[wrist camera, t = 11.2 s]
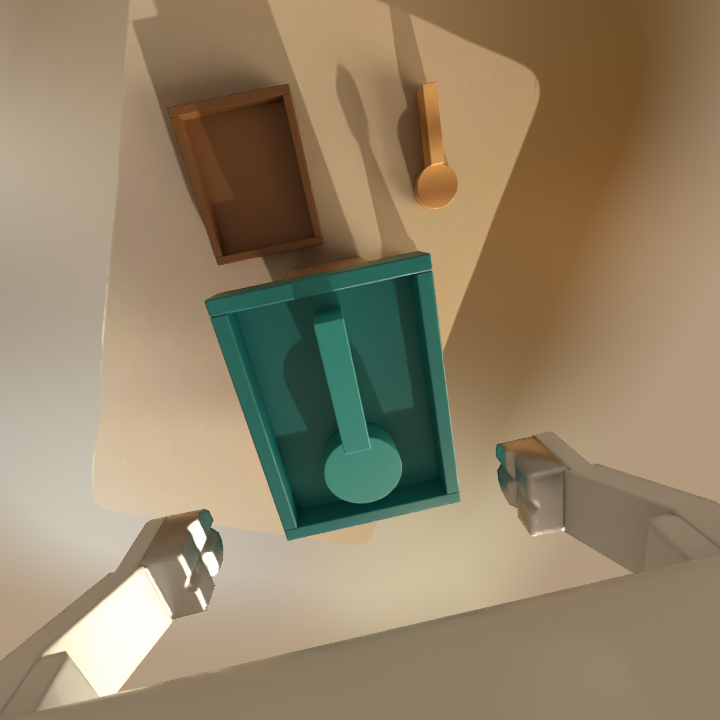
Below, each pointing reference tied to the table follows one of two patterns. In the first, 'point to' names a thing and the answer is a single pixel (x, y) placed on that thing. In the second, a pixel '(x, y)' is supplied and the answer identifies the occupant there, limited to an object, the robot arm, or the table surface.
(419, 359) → the teal tray
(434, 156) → the beech spoon
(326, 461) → the teal spoon
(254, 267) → the table surface
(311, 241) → the walnut tray
